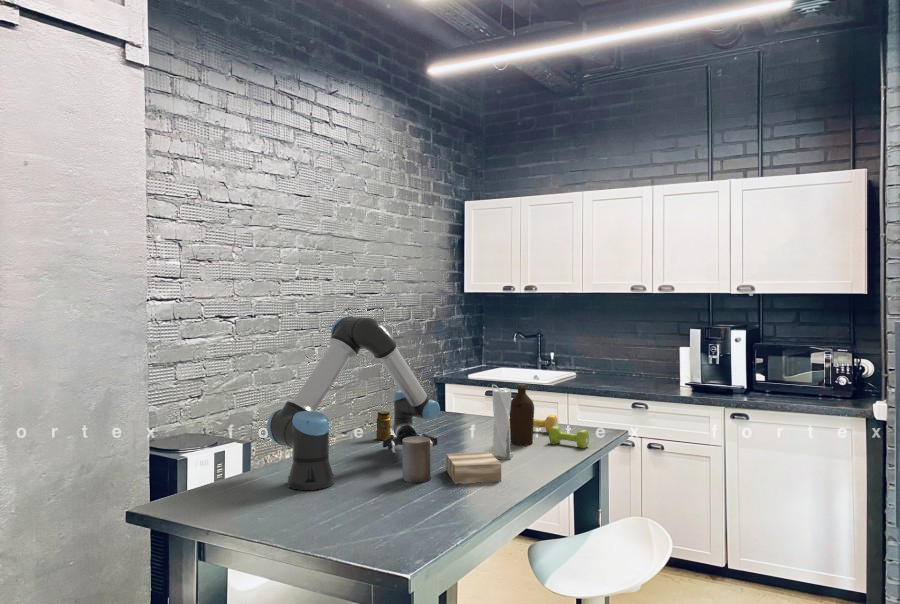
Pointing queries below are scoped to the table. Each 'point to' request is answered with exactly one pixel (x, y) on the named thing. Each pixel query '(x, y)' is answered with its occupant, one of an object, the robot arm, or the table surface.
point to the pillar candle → (416, 459)
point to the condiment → (383, 426)
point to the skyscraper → (501, 423)
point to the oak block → (473, 467)
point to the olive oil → (521, 418)
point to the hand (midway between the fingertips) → (412, 447)
